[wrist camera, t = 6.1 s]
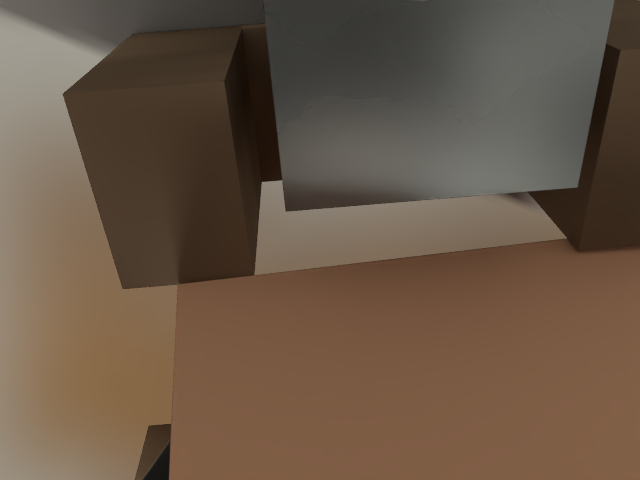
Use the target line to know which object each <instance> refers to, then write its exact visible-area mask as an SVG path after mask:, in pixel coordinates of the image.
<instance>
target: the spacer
mask: <svg viewBox="0 0 640 480" xmlns="http://www.w3.org/2000/svg"><path fill="white" fill-rule="evenodd" d="M169 480H640V246H628V247H616V248H604V249H592V250H580V251H578V250H577V249H576V248H575V246H574V245H573V244H572V243H571V242H570V241H569V239H568V238H567V239H559V240H550V241H542V242H534V243H525V244H517V245H508V246H499V247H491V248H482V249H475V250H465V251H457V252H449V253H440V254H432V255H423V256H415V257H406V258H398V259H389V260H381V261H373V262H364V263H356V264H347V265H338V266H330V267H321V268H314V269H305V270H296V271H287V272H280V273H271V274H262V275H254V276H245V277H237V278H228V279H220V280H211V281H203V282H194V283H186V284H178V289H177V312H176V334H175V356H174V379H173V401H172V423H171V445H170V468H169Z"/></svg>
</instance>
